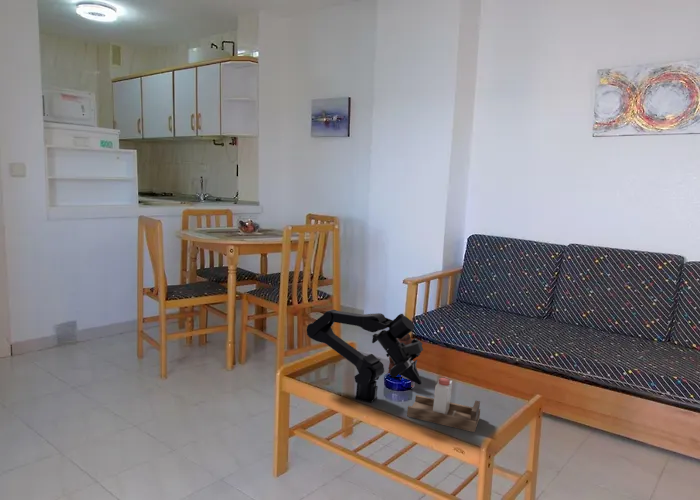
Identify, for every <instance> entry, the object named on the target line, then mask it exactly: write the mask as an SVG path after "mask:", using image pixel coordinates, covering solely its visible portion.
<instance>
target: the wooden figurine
mask: <svg viewBox="0 0 700 500" xmlns="http://www.w3.org/2000/svg"><path fill="white" fill-rule="evenodd" d="M397 339H398V340H399V342H400V343H402V342H403V343H404V344H405V345H408V344H410V343H411V342H412V340H413V339H412V338H411V335H410V333H409V334H407V335H406V336H405V337H403V338H402V339H399V338H397ZM388 359H389V365H388V370H387V371H388V372H387V374H388V373H390V369H391V368H393V367H394V364H395V363H394V361H393V360H392V359H391V357H390V356H389V357H388Z"/></svg>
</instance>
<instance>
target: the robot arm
mask: <svg viewBox="0 0 700 500" xmlns="http://www.w3.org/2000/svg"><path fill="white" fill-rule="evenodd" d="M334 323H337V324H343V325H350V326H356V327H359V328H361V329H363V330H364V331H366V332H368V333H369V332H370V333H374V334H373V335H372V340H371V343H372V344H374V343H376V342H377V341H378V343H379V344H380V345H381V347H382V348H383V350H384V351H385V353H386V354H385V355H386V357H387V358H389V356H390V357H391V359H392V360H393V361H394V363H395V364H394V367H393V368H391V369H390V375H391V376H392V377H391V378H392V379H395V378H394V377H396V376H397V375H398V374H399V375H402V376H404V377H406V378H408V379H410V380H412V381H413V382H415V384H417V385H418V386H419V385H421V384H423V381H422V379H421V376H420V374H419V371H418V369H417V362H418V359H416V358H418V357H419V356H420V355H421V353H422V352H423V351H424V348H423V342H422V341H421V340H419V339H418V338H417V337H416V338H413V339H411V340H412V342H411V343H410V344H408V345H405V344H404V343H403V342H402V343H400V342H399V340H398V339H397V338H399V339H402V338H403V337H405V336H406V335H407V334H410V333H411V332H412V331H413V330H415V324H414V323H413V320H411V319H409V318H408V317H407V316H405V315H404V313H400V314H399V315H397V316H396V317H395V318H394V319H390V318H388V317H385V315H384V314H383V313H379V312H378V313H377V312H376V313H366V314H361V313H354V312H350V311H349V312H348V311H342V310H336V309H330V310H327V311H325V312H324V313H323V314H322V315H321V316H320V317H319V318H317V319H316V320H315V321H313V322H311V323H309V324H308V325H306V326H307V327H306V335H307V337H308V338H309V339H311V340H313V341H316V342H317V343H322V344H325V345H326V346H328V347H329V348H331V349H332V350H333V351H334V352H336V353H337V354H339V355H340V356H342V357H343V358H344V359H345V360H347V361H348V362H350V363H351V364H352V365H354V367H355V368H356V370H357V372H358V373H357V374H356V375H354V382H355V383H356V392H355V396H354V397H353V398H355V400H358V399H359V401H362V400H363V402H367V403H373V401H375V399H376V398H377V397H378V396H377V395H378V385H377V383H378V382H377V380H379V378H380V377H381V376H383V375H384V372H385V367H384V363H383V362H382V361H381V358H377V357H376V356H375V355H374V354H372V353H370V354H367V355H364V354H363V353H361V352H360V351H359V350H357V349H356V348H354V347H353V346H352V345H350V344H349V343H348V342H347V341H345V340H343V339H342V338H341V337H339V336H338V335H337V334H335V332H334V331H333V329H332V326H333V325H334ZM387 328H388V330H385V329H387ZM379 331H380V332H379ZM376 332H378V333H376Z"/></svg>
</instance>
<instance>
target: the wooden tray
mask: <svg viewBox="0 0 700 500" xmlns="http://www.w3.org/2000/svg"><path fill="white" fill-rule="evenodd" d="M480 404H481V401H480V400H475V401H474V404H473V405H472V406H468V405H465V404H460V403H455V402H451V401H450V407H449V411H448V413H447V414H443V413H439V412H434V411H433V405H434V397H433V398H432V397H428V396H424V395H419V394H416V395H415V400H414V402H413V404H412V405H408V406H407V411H406V412H407V413H406V417H408V418H413V419H415V420H416V419H417V420H421V421H424V422H429V423H433V424H438V425H442V426H446V427H451V428H456V429H459V430H463V431H467V432H472V433H475V432H476V429H477V426H478V423H479V421H480V418H481V417H480V416H481V408H480V407H481V405H480Z"/></svg>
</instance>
